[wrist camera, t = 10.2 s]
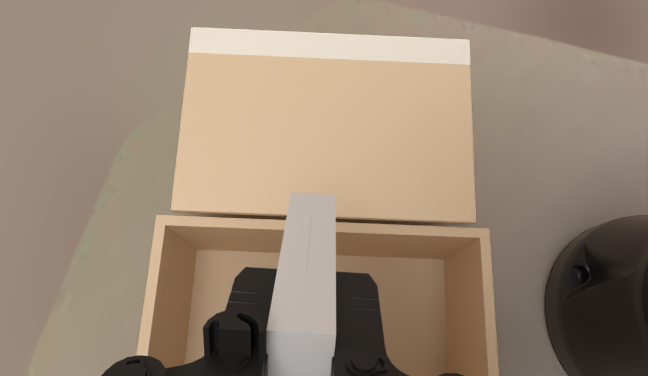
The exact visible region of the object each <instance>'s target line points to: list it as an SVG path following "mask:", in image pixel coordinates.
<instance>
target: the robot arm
mask: <svg viewBox="0 0 648 376" xmlns="http://www.w3.org/2000/svg"><path fill="white" fill-rule="evenodd" d="M545 309H546V320H547V326H548V331H549V335H550V338H551V341H552V344H553V347H554V349H555V352H556V354H557V356H558V358H559V360H560V362H561V364H562V365H563V367H564V369H565V370H566V372H567V373H568V375H569V376H648V215H638V216H629V217H623V218H618V219H615V220H612V221H609V222H606V223H604V224H601V225H599V226H596V227H593V228H591V229H589V230H587V231H585V232H584V233H582V234H581V235H579V236H578V237H576V238H575V239H574V240H573V241H572V242H570V244H569V245H568V246H567V247H566V248H565V249H564V250H563V251H562V253H561V254H560V256H559V257H558V259H557V261H556V262H555V264H554V266H553V269H552V271H551V274H550V277H549V280H548V285H547V290H546V301H545ZM203 341H204V356H203V357H202V358H200V359H198V360H196V361H194V362H191V363H188V364H184V365H180V366H175V367H170V368H165V367H164V365H163V364H162V363H161V361H160V360H158V359H156V358H153V357H151V356H142V355H138V356H133V357H127V358H125V359H123V360H121V361H119V362H116V363H115V364H113V365H112V366H111V367H110V368H109V369H107V370H106V371H105V372H104V373H103V375H102V376H409V375H407V374H405V373H403V372H402V371H400V370H399V369H397V368H396V367H395V366H394V365H393V364H392V363H391V361H390V359H389V358H388V356H387V353H386V349H385V342H384V334H383V326H382V318H381V311H380V302H379V294H378V287H377V284H376V283H375V281H374V280H373V279H372V277H371V276H370V275H369V274H368V273H352V272H336V195H322V194H307V193H292V192H291V195H290V201H289V206H288V212H287V218H286V223H285V229H284V234H283V240H282V246H281V251H280V257H279V263H278V268H277V269H270V268H255V267H245V268H244V269H243V270H242V271H241V272H240V273H239V274H238V275H237V276H236V277H235V279H234V283H233V286H232V289H231V293H230V296H229V299H228V303H227V306H226V309H225V311H223V312H220V313H217V314H215V315H214V316H212V317H211V318H210V319H208V320H207V322H206V323H205V325H204V327H203ZM438 376H464V375H461V374H458V373H444V374H441V375H438Z"/></svg>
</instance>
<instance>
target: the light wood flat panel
mask: <svg viewBox="0 0 648 376" xmlns="http://www.w3.org/2000/svg"><path fill="white" fill-rule="evenodd" d="M291 192H292V193H307V194H322V195H336V219H360V220H385V221H410V222H435V223H459V224H474V223H476V209H475V182H474V156H473V130H472V103H471V77H470V44H469V40H465V39H443V38H421V37H399V36H376V35H354V34H332V33H310V32H288V31H263V30H243V29H221V28H199V27H192V28H191V35H190V44H189V54H188V64H187V73H186V81H185V89H184V98H183V107H182V116H181V125H180V133H179V142H178V151H177V160H176V168H175V177H174V186H173V195H172V203H171V211H173V212H187V213H212V214H237V215H261V216H286V217H287V212H288V206H289V201H290V195H291Z"/></svg>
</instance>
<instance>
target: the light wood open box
mask: <svg viewBox="0 0 648 376" xmlns="http://www.w3.org/2000/svg"><path fill="white" fill-rule="evenodd" d="M285 223H286V220H270V219H245V218H220V217H195V216H170V215H156V221H155V229H154V236H153V243H152V250H151V257H150V264H149V271H148V278H147V285H146V292H145V299H144V306H143V313H142V320H141V327H140V335H139V342H138V349H137V356H138V355H142V356H151V357H153V358H156V359H158V360H160V361H161V363H162V364H163V365H164V367H165V368H170V367H175V366H180V365H184V364H188V363H191V362H194V361H196V360H198V359H200V358H202V357H203V356H204V341H203V327H204V325H205V323H206V322H207V320H208V319H210V318H211V317H212V316H214V315H215V314H217V313H220V312H223V311H225V309H226V306H227V303H228V299H229V296H230V293H231V289H232V286H233V283H234V279H235V277H236V276H237V275H238V274H239V273H240V272H241V271H242V270H243V269H244V268H245V267H255V268H270V269H277V268H278V263H279V257H280V251H281V246H282V240H283V234H284V229H285ZM336 272H352V273H368V274H369V275H370V276H371V277H372V279H373V280H374V281H375V283H376V284H377V287H378V294H379V302H380V311H381V318H382V326H383V334H384V342H385V349H386V353H387V356H388V358H389V359H390V361H391V363H392V364H393V365H394V366H395V367H396V368H397V369H399V370H400V371H402V372H403V373H405V374H407V375H409V376H438V375H441V374H444V373H458V374H461V375H464V376H499V365H498V350H497V335H496V319H495V304H494V289H493V274H492V259H491V244H490V229H489V228H468V227H443V226H419V225H394V224H369V223H344V222H336Z"/></svg>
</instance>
